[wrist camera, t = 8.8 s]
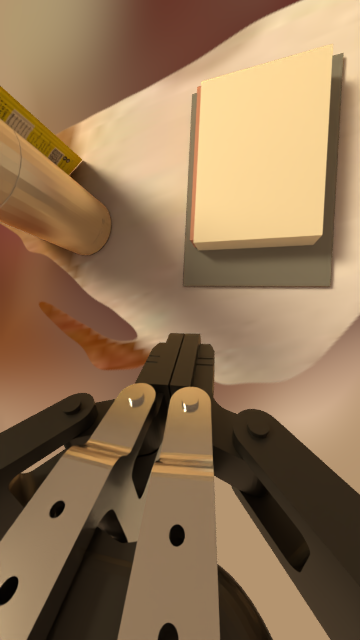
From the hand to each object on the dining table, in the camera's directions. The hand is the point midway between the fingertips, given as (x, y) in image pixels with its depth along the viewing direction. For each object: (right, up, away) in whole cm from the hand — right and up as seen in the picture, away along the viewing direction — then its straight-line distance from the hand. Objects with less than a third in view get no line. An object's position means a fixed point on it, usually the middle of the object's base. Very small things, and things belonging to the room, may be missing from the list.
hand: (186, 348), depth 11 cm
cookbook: (+8, +11, +15) cm, 20 cm away
